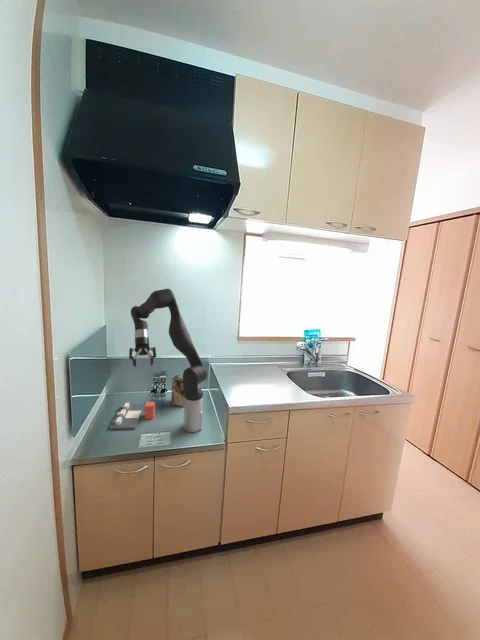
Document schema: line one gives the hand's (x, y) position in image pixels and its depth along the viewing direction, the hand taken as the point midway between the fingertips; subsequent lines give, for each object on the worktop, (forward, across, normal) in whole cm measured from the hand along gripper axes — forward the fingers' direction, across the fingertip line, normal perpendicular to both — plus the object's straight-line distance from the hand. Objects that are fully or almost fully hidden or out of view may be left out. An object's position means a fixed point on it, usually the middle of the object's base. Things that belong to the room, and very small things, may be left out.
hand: (143, 365), depth 146 cm
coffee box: (+22, +22, +11) cm, 32 cm away
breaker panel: (+25, -8, +8) cm, 28 cm away
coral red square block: (+27, +3, +5) cm, 28 cm away
